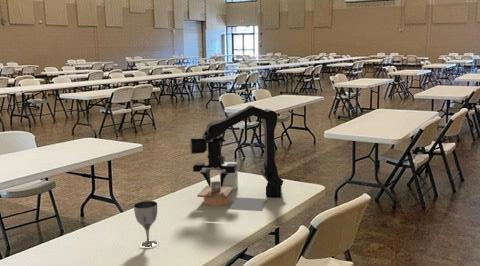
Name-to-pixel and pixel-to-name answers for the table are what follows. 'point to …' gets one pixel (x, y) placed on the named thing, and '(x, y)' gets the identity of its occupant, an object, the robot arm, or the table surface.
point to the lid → (215, 191)
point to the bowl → (216, 201)
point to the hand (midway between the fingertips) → (215, 186)
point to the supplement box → (230, 178)
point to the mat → (248, 204)
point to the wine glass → (146, 217)
